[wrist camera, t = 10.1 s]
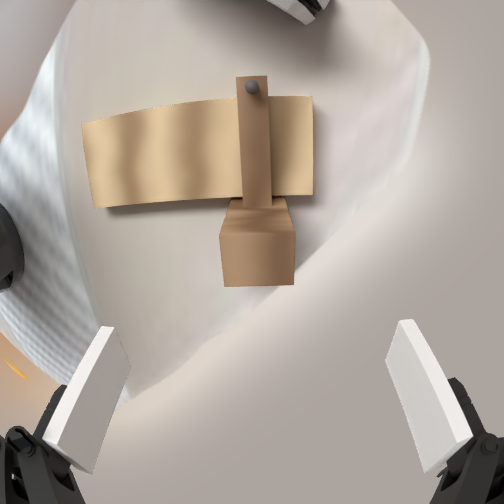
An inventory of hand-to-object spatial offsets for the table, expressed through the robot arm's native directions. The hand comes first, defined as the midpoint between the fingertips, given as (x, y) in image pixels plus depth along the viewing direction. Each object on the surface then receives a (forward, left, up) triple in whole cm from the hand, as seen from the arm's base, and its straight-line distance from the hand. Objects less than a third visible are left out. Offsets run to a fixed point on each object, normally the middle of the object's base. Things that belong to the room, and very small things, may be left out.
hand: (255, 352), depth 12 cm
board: (-6, +7, -19) cm, 21 cm away
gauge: (0, +5, -19) cm, 19 cm away
